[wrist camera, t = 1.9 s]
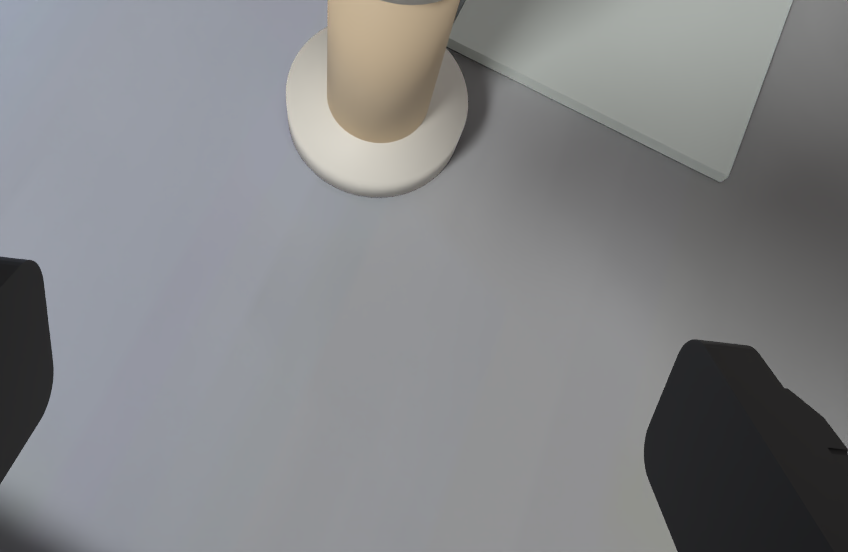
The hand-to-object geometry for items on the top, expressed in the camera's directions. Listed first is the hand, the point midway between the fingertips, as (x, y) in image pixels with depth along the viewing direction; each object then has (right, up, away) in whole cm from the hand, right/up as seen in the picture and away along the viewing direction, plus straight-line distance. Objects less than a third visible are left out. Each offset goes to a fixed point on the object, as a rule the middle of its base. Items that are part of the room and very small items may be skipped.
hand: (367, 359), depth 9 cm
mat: (+9, +13, +21) cm, 26 cm away
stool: (-1, +7, +18) cm, 19 cm away
